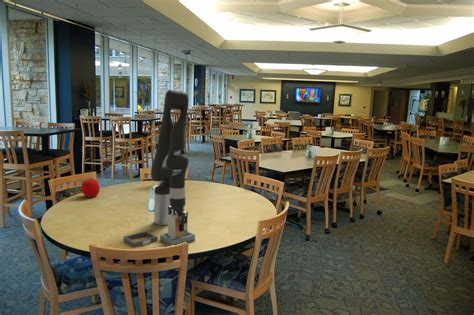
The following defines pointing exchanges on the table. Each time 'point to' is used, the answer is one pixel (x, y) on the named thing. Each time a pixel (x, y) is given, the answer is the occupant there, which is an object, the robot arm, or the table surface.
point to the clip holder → (141, 242)
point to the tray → (173, 241)
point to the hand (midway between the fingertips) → (177, 229)
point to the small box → (175, 227)
